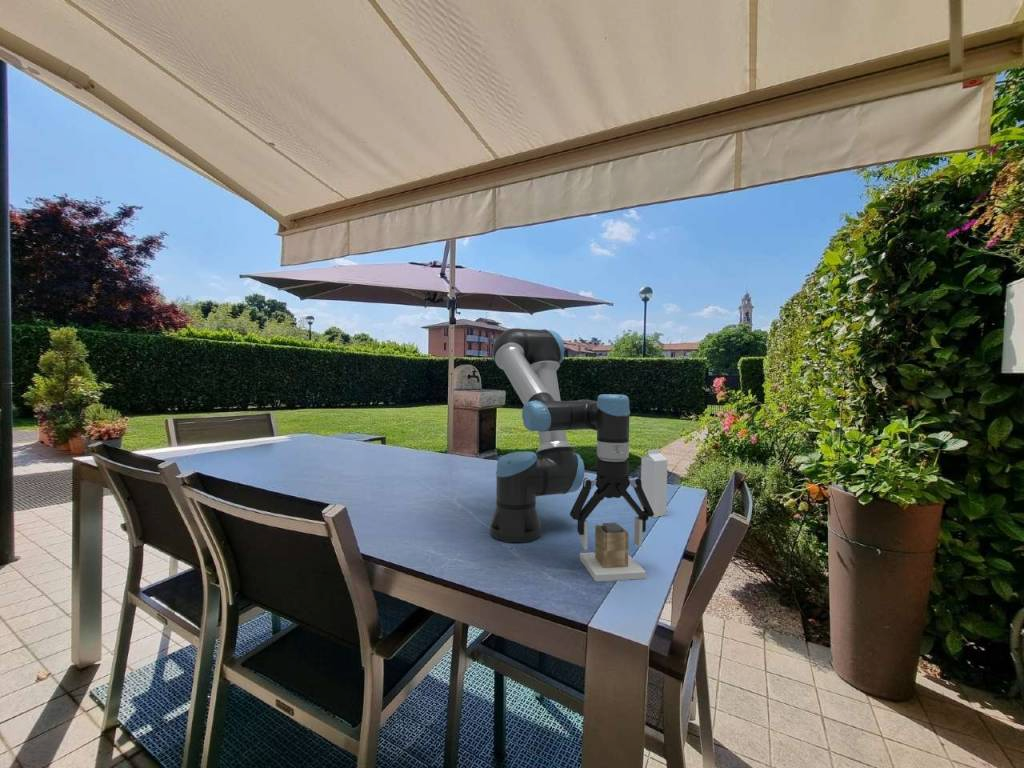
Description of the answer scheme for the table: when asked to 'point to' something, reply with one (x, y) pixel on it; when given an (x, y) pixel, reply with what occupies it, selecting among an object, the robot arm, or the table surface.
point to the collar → (611, 547)
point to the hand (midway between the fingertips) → (611, 546)
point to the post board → (611, 573)
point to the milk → (655, 481)
